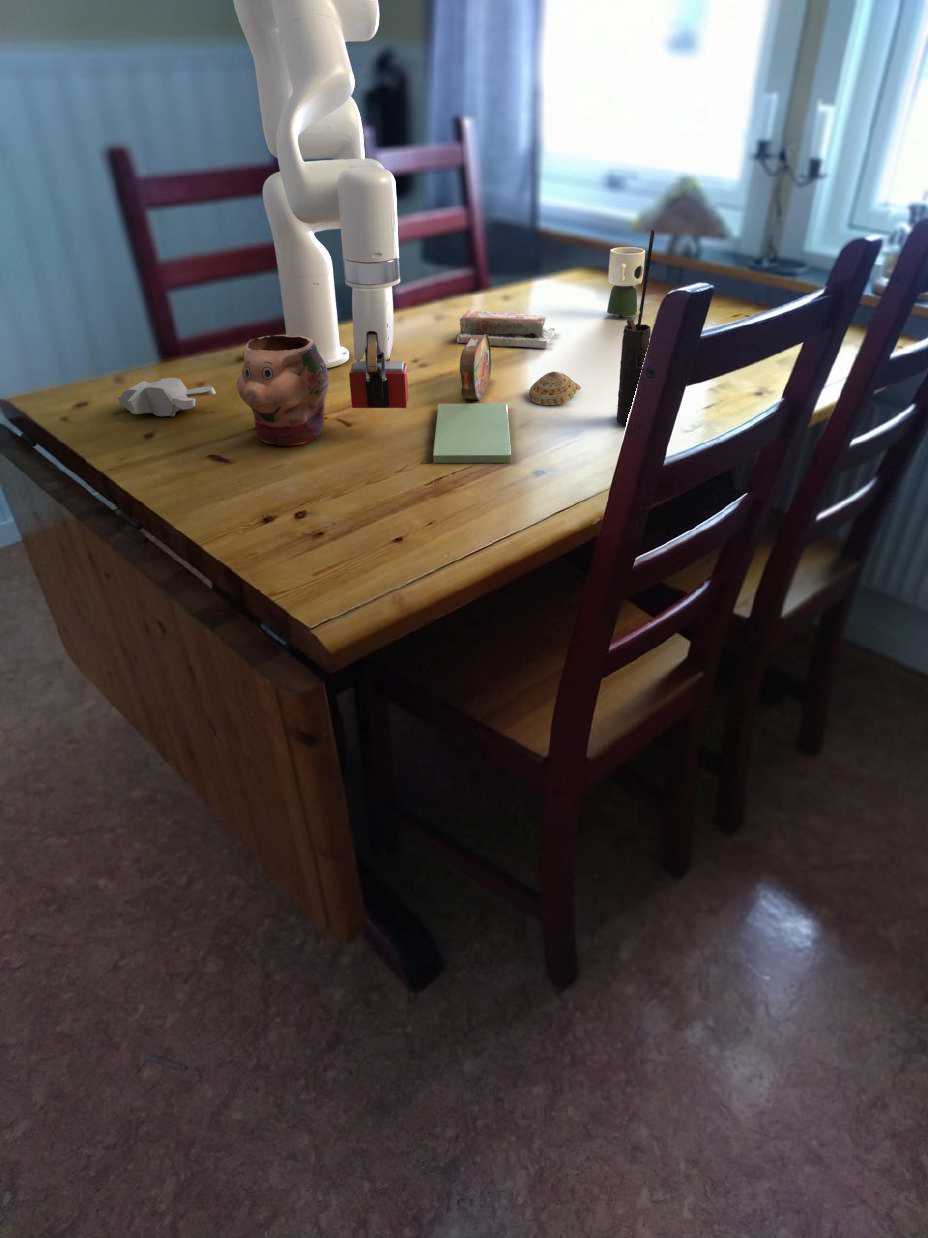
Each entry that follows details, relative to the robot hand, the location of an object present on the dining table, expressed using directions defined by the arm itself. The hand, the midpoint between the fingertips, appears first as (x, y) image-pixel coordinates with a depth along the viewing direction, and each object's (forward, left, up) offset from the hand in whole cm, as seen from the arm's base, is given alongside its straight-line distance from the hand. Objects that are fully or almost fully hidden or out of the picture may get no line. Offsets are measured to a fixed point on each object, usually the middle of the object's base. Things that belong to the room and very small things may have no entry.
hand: (380, 398), depth 126 cm
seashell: (+27, +16, -6) cm, 32 cm away
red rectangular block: (0, 0, -1) cm, 1 cm away
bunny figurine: (-36, +10, -6) cm, 38 cm away
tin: (+14, +19, -6) cm, 24 cm away
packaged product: (+20, +48, -6) cm, 52 cm away
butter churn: (+38, +6, -6) cm, 39 cm away
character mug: (+45, +64, -6) cm, 78 cm away
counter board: (+14, 0, -6) cm, 15 cm away
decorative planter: (-14, +2, -6) cm, 15 cm away
